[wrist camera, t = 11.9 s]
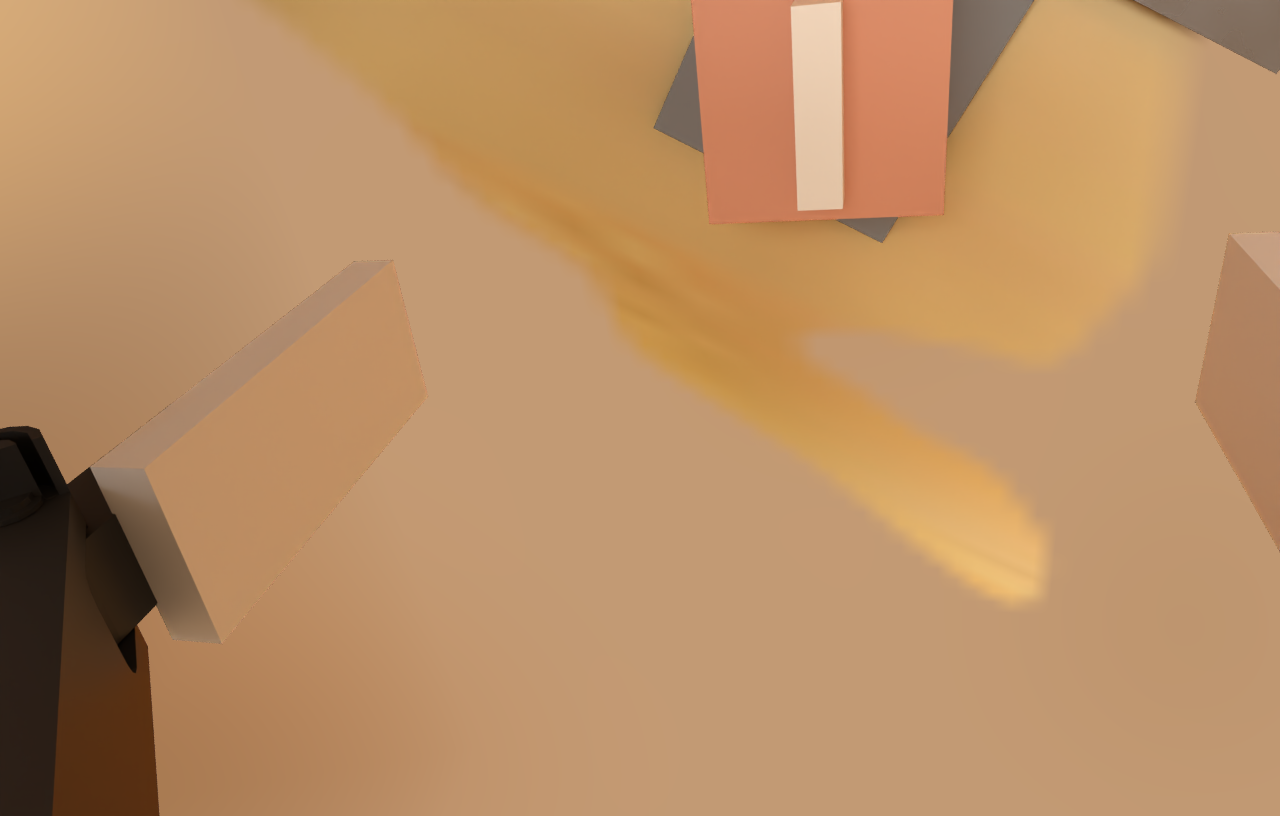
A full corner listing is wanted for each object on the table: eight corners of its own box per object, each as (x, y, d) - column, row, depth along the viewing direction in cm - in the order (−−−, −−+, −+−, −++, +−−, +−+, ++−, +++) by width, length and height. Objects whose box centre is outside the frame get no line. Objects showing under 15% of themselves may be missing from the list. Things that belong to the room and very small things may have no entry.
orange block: (717, -38, 33) (681, -13, 27) (944, -63, 31) (958, -42, 25) (732, 175, 37) (702, 238, 31) (935, 164, 35) (946, 230, 29)
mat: (656, 124, 37) (653, 128, 36) (774, -147, 31) (772, -147, 31) (881, 237, 37) (882, 243, 37) (1036, -12, 32) (1039, -10, 31)
